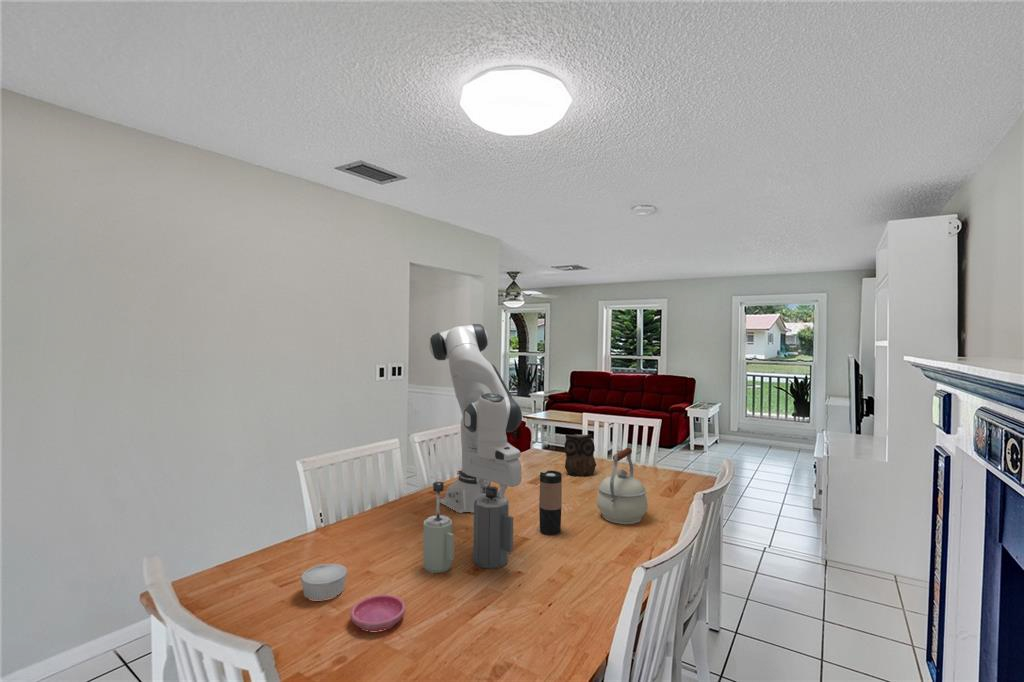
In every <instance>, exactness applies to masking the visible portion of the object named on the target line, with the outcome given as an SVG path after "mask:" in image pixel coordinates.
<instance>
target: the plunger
mask: <svg viewBox="0 0 1024 682" xmlns="http://www.w3.org/2000/svg"><path fill="white" fill-rule="evenodd" d="M498 490H499V488H498V486H495V485H494V486H492V485H491V486H489V487H486V497H487V498H490V501H494V498H496V497H497V492H499V491H498Z"/></svg>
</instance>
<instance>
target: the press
mask: <svg viewBox="0 0 1024 682" xmlns="http://www.w3.org/2000/svg"><path fill="white" fill-rule="evenodd" d="M509 510H510V501H509V500H508V499H507V497H505V496H504V498H502V499H500V498H497V497H496V498H494V501H490V498H487V497H486V495H484V496H481V497H478V498H477V500H475V502H474V513H473V546H472V547H473V548H472V549H473V553H472V556H473V563H474V564H475V566H477V567H478V568H481V569H488V570H492V569H494V570H495V569H500V568H502V567H504V566H506V565H507V564H508V562H509V561H508V559H509V553H510V554H511V553H512V552H514V516H511V515H509V513H510V511H509Z"/></svg>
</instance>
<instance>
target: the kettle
mask: <svg viewBox="0 0 1024 682" xmlns="http://www.w3.org/2000/svg"><path fill="white" fill-rule="evenodd" d="M632 453H633V451H632V449H631V447H626V448H625V449H622V450H620V451H619V452H617V453H615V454H613V456H612V459H613V467H612V471H611V474H610V475H609V476H607V477H605V478H604V479H603V480H602V481H601V483H600V484H599V485H598V487H597V489H598V493H597V498H596V504H597V508H598V509H599V511H600V512H601V514H602V517H603V518H605V520H606V521H608V522H611V523H614V524H617V523H618V524H619V525H635V524H637V523H639V522H640V521H641V520H642V517H643V516H644V514H645V513H646V512H647V510H648V500H647V496H646V494H647V489H646V487H644V484H643V483H642V482H641V481H640V480H639V479H637V478H635V477H634V465H633V462H632V457H631V455H632ZM625 458H627V462H628V465H629V473H628V472H627V471H626V470H625V469H620V470H618V471H617V469H618V466H619V465H618V463H619V461H620V460H622V459H625ZM628 474H629V475H628ZM618 524H617V525H618Z"/></svg>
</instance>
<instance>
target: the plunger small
mask: <svg viewBox="0 0 1024 682" xmlns="http://www.w3.org/2000/svg"><path fill="white" fill-rule="evenodd" d="M444 484H445V483H444V482H443V481H434V482H433V483H432V490H433V492H436V511H435V512H436V513H435V516H436V518H440V515H441V504H440V500H441V492H443V491H444Z"/></svg>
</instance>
